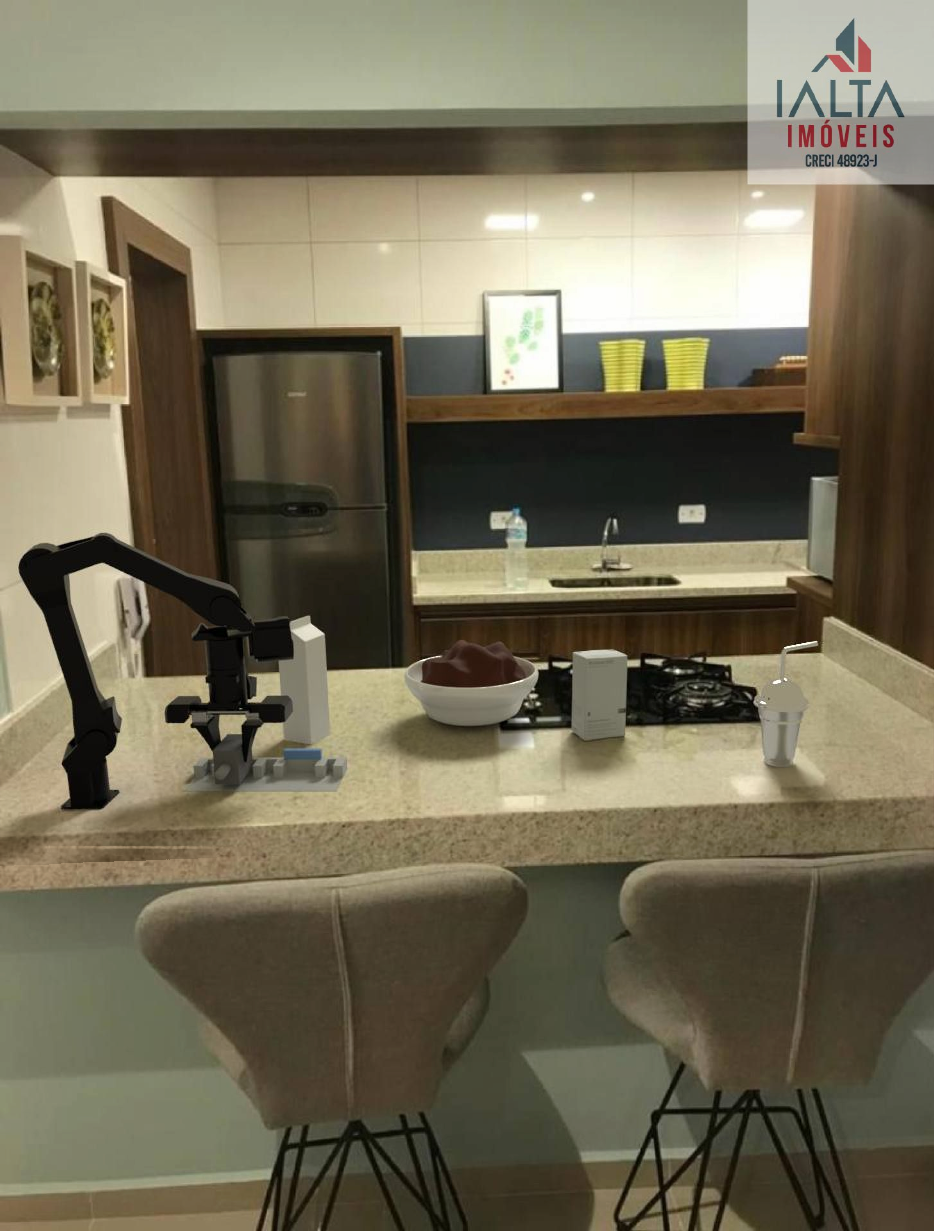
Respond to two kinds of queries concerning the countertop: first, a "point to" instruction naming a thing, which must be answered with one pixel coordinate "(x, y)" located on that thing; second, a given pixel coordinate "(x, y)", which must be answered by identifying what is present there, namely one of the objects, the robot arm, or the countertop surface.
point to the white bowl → (471, 684)
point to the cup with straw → (781, 715)
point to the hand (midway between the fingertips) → (233, 761)
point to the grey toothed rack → (278, 773)
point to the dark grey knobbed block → (230, 760)
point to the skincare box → (599, 694)
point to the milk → (306, 684)
